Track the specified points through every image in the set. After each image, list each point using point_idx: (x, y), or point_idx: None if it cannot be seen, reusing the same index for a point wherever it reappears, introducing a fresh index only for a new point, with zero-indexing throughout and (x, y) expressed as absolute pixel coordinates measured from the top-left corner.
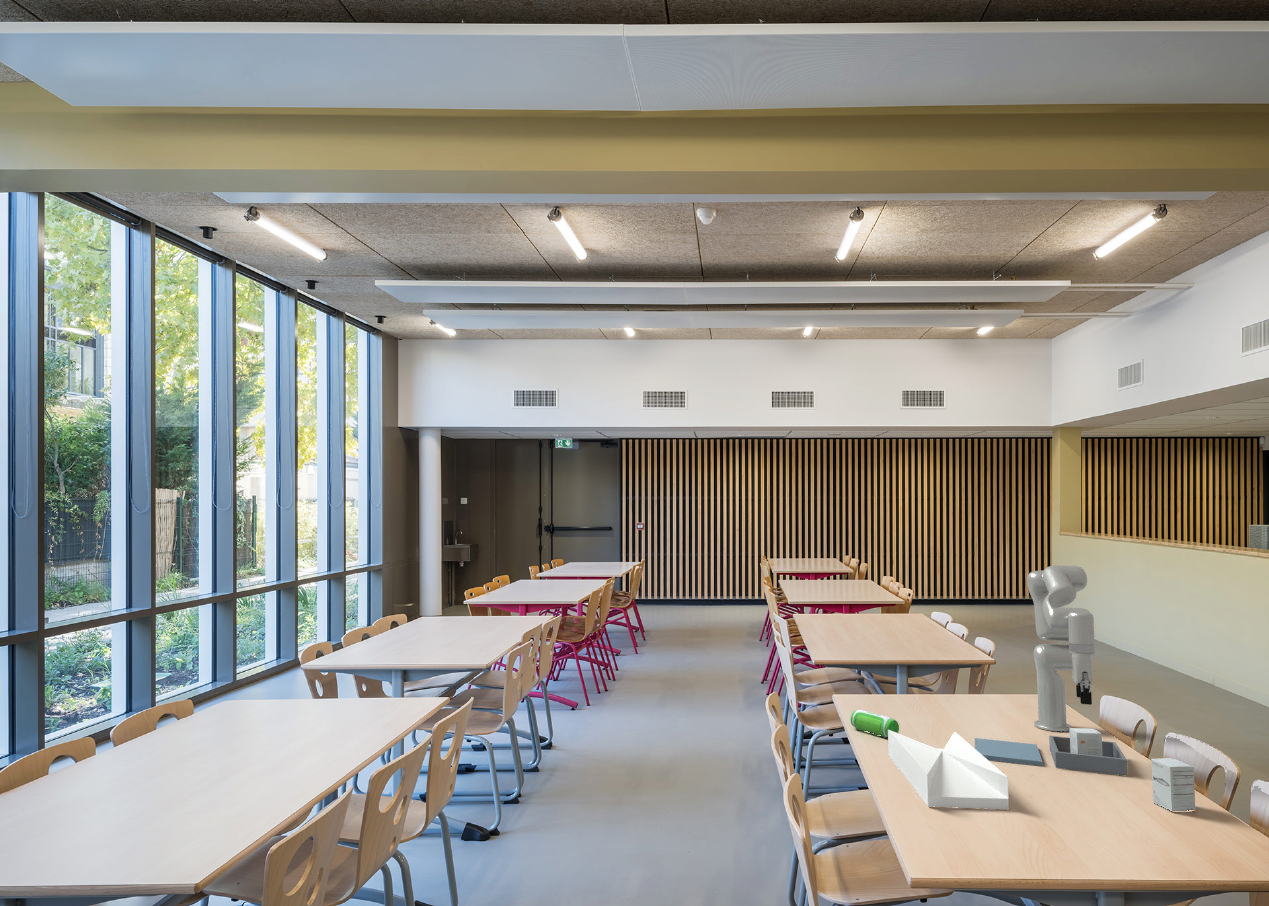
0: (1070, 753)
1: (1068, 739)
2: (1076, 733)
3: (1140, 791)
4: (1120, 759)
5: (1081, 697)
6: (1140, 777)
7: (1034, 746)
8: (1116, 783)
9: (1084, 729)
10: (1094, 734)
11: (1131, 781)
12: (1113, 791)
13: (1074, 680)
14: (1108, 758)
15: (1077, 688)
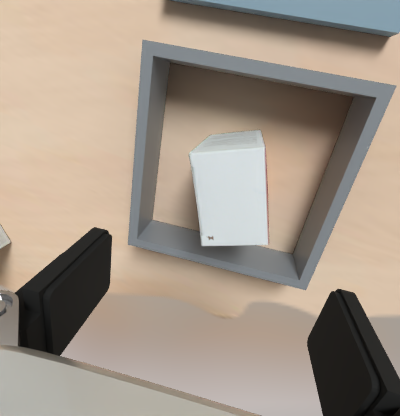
0: (142, 97)
1: (348, 157)
2: (192, 151)
3: (46, 206)
4: (129, 230)
5: (67, 257)
6: None
7: (366, 13)
8: (80, 177)
9: (243, 203)
10: (199, 219)
11: (107, 216)
12: (19, 147)
13: (58, 402)
14: (131, 203)
15: (360, 359)
